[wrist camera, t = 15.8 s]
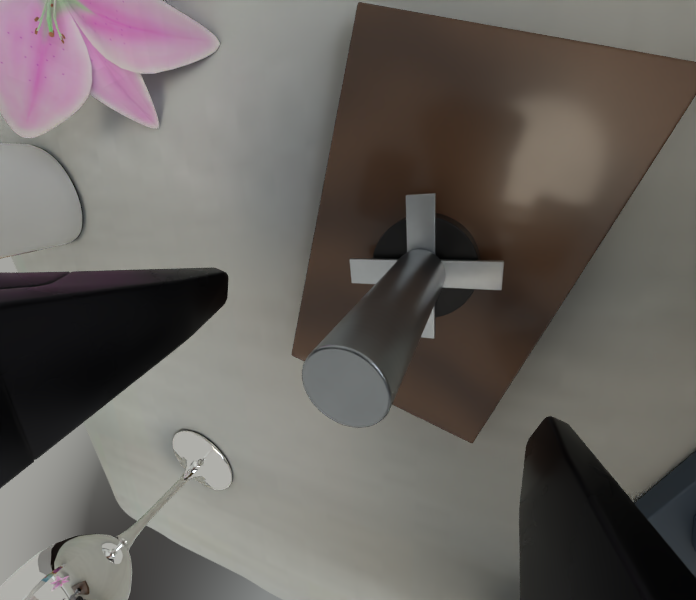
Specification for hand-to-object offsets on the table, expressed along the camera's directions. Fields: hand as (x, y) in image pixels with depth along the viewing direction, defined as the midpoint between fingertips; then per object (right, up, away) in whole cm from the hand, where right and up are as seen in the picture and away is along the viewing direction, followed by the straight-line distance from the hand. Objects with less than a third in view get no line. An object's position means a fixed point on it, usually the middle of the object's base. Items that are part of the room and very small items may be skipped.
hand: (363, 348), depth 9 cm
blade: (+3, +3, +7) cm, 8 cm away
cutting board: (+4, +3, +8) cm, 10 cm away
